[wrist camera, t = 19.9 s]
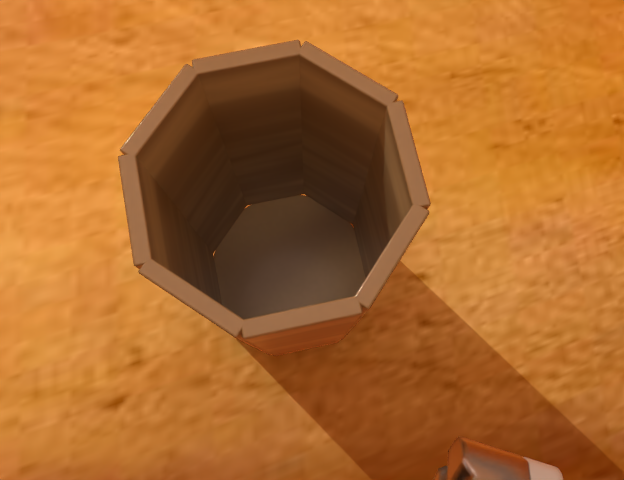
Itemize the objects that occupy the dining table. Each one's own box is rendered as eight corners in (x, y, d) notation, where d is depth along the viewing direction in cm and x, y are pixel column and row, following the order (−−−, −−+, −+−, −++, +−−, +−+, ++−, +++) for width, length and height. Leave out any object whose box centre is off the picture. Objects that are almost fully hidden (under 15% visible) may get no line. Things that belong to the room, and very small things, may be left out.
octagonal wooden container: (400, 246, 24) (476, 139, 13) (313, 384, 22) (317, 392, 12) (268, 164, 24) (234, -3, 14) (176, 293, 23) (63, 222, 12)
